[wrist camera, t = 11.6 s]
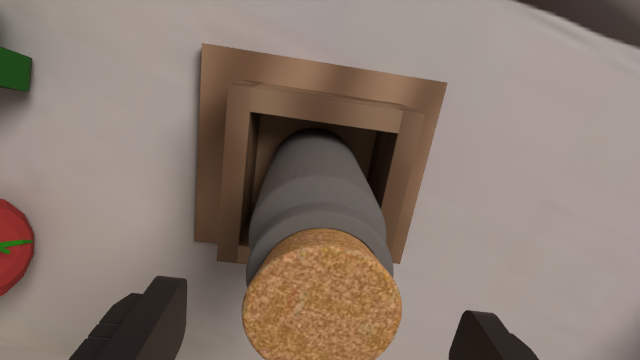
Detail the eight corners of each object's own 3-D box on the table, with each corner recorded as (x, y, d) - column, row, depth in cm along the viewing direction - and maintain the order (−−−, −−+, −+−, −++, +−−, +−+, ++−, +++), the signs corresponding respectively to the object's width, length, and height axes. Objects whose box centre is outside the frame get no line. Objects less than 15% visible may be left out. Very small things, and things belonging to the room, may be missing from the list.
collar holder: (441, 82, 23) (484, 87, 18) (396, 256, 28) (419, 306, 22) (206, 43, 22) (171, 37, 16) (198, 234, 26) (169, 280, 21)
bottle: (320, 220, 25) (336, 418, 11) (255, 174, 24) (181, 335, 10) (371, 160, 24) (464, 302, 10) (306, 108, 23) (305, 185, 8)
